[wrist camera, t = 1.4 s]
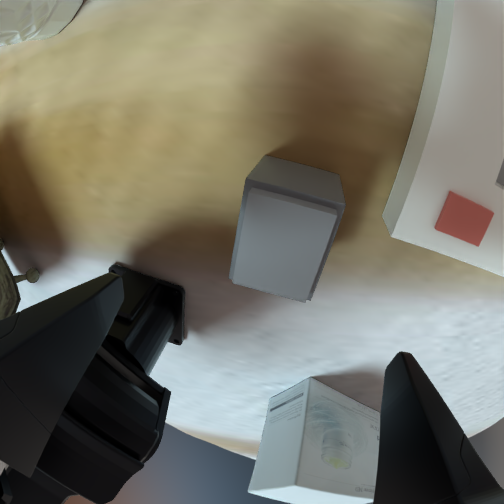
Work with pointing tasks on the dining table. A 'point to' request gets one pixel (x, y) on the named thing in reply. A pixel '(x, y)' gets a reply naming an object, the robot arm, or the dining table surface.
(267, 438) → the skincare box
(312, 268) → the plug
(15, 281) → the tabletop clock
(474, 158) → the socket plate
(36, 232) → the dining table surface
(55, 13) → the white cup
